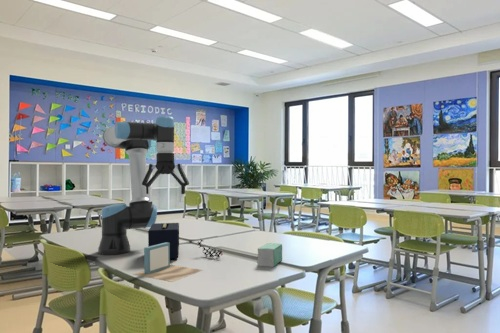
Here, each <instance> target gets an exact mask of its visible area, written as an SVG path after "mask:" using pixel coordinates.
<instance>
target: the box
mask: <svg viewBox="0 0 500 333" xmlns="http://www.w3.org/2000/svg"><path fill="white" fill-rule="evenodd" d="M282 261H283V244H282V243H275V242H273V243H272V242H269V243H265V244H263V245H261V246H260V247H258V248H257V266H258V267H267V268H269V267H272V268H273V267H275V266H276V265H278V264H279V263H281V262H282Z"/></svg>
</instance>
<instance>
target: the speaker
mask: <svg viewBox="0 0 500 333" xmlns="http://www.w3.org/2000/svg"><path fill="white" fill-rule="evenodd" d="M147 233H148V234H147V236H148V241H147V242H148V246H147V247H149V246H153V245H157V244H161V243H165V242H167V243H170V260H172V261H173V260H176V259H178V258H179V252H180V222H162V223H161V222H160V223H158V222H157V223H156V222H155V224H152V226H151V227H149V229H148V232H147Z"/></svg>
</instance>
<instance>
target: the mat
mask: <svg viewBox="0 0 500 333" xmlns="http://www.w3.org/2000/svg"><path fill="white" fill-rule="evenodd" d="M202 271H204V270H203V269H199V268H193V267H187V266H182V265H181V266H180V265H175V264H174V265H173V264H170V267H169V268H166V269H163V270H159V271H156V272H153V273H150V274H145V273H144V270H142V271H140V272H136V273H133V275H134V276H140V277H145V278H150V279H155V280H161V281H166V282H171V283H174V282H176V281H179V280H181V279H183V278H186V277H188V276H191V275H192V276H193V275H195V274H197V273H201V272H202Z"/></svg>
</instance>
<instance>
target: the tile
mask: <svg viewBox="0 0 500 333" xmlns="http://www.w3.org/2000/svg"><path fill="white" fill-rule="evenodd" d="M143 249H144V250H143V251H144V254H143V256H144V257H143V258H144V262H143V264H144V266H143V267H144V269H143V271H144V273H145V274H150V273H153V272H156V271H159V270H163V269H166V268H169V267H170V265H171V264H170V263H171V261H170V260H171V259H170V243H167V242H165V243H161V244H157V245H153V246H149V247H148V246H145V247H144V248H143Z"/></svg>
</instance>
